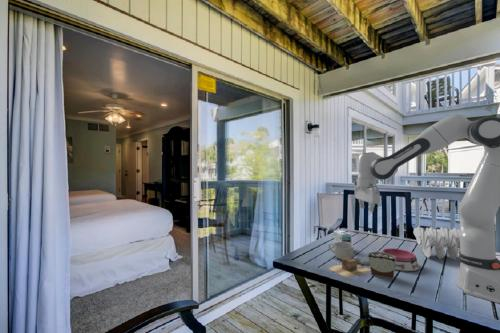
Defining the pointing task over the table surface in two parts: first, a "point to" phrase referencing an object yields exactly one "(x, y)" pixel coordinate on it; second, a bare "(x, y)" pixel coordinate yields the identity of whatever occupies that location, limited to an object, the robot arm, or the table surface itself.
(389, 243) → the table surface
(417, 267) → the dog bowl
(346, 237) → the light bulb box
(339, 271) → the oak board
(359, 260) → the grey rounded dome
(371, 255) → the food container
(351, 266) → the walnut block
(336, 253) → the teacup
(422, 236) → the spiral staircase
